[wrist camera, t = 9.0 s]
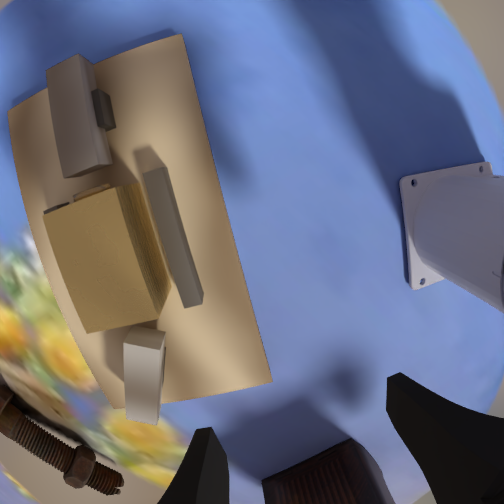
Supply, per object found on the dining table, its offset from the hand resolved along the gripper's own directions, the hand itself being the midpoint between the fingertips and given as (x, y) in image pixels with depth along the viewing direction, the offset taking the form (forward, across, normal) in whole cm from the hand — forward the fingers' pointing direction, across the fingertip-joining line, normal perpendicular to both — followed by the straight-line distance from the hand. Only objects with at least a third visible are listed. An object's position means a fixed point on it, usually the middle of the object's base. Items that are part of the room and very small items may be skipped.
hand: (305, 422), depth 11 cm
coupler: (+8, +7, -7) cm, 13 cm away
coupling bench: (+9, +7, -7) cm, 14 cm away
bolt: (+10, +23, +9) cm, 27 cm away
